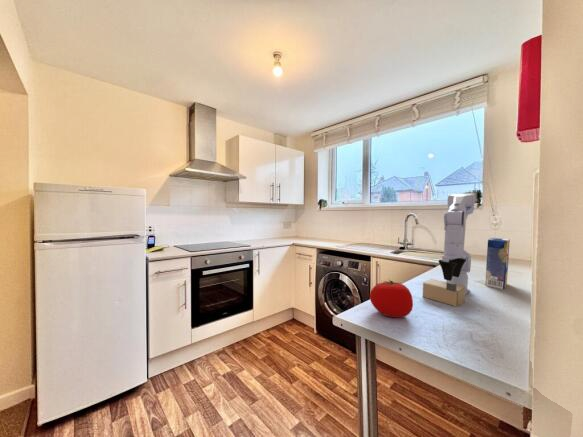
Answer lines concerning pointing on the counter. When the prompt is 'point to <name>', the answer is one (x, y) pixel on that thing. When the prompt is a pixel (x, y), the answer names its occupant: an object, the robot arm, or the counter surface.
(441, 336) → the counter surface
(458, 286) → the carton
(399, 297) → the tomato
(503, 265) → the beverage box
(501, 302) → the counter surface
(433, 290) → the carton flap
